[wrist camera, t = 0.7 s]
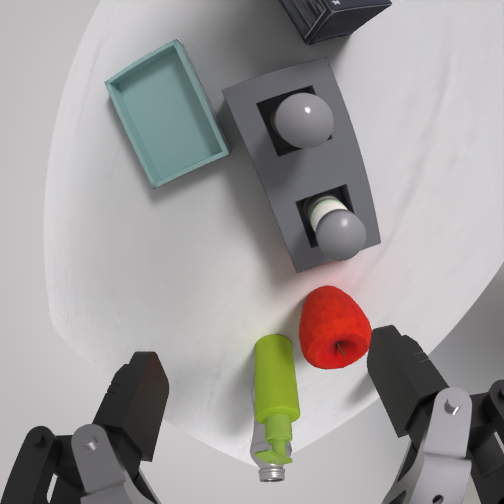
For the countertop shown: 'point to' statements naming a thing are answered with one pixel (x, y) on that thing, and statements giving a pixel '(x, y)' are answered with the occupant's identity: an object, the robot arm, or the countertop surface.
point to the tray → (167, 114)
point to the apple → (333, 329)
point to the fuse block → (308, 168)
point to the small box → (331, 16)
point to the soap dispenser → (275, 395)
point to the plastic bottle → (259, 444)
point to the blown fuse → (302, 120)
